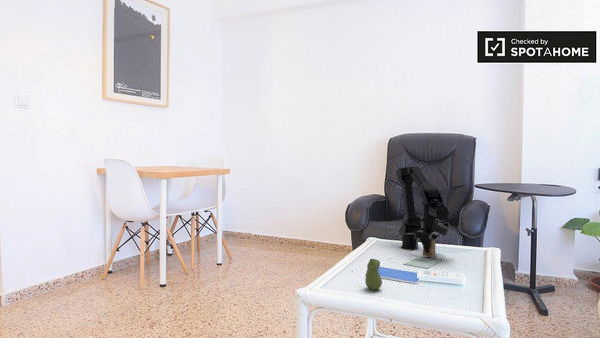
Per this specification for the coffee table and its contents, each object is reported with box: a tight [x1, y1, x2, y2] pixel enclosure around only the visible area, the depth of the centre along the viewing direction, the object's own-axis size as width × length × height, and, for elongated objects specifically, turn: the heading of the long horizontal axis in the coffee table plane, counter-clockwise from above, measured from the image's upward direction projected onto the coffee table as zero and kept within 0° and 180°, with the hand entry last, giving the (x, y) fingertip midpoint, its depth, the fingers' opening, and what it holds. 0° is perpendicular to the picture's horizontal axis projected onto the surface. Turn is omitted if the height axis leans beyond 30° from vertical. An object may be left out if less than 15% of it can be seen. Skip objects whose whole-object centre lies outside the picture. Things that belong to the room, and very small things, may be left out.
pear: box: [364, 258, 383, 291], centre depth 130 cm, size 6×5×10 cm
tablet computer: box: [365, 266, 421, 285], centre depth 146 cm, size 19×13×1 cm, turn 59°
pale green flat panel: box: [403, 256, 440, 270], centre depth 163 cm, size 10×14×1 cm
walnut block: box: [422, 239, 437, 258], centre depth 172 cm, size 4×4×7 cm
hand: (429, 251), depth 172 cm, fingers closed on walnut block, 4 cm apart
